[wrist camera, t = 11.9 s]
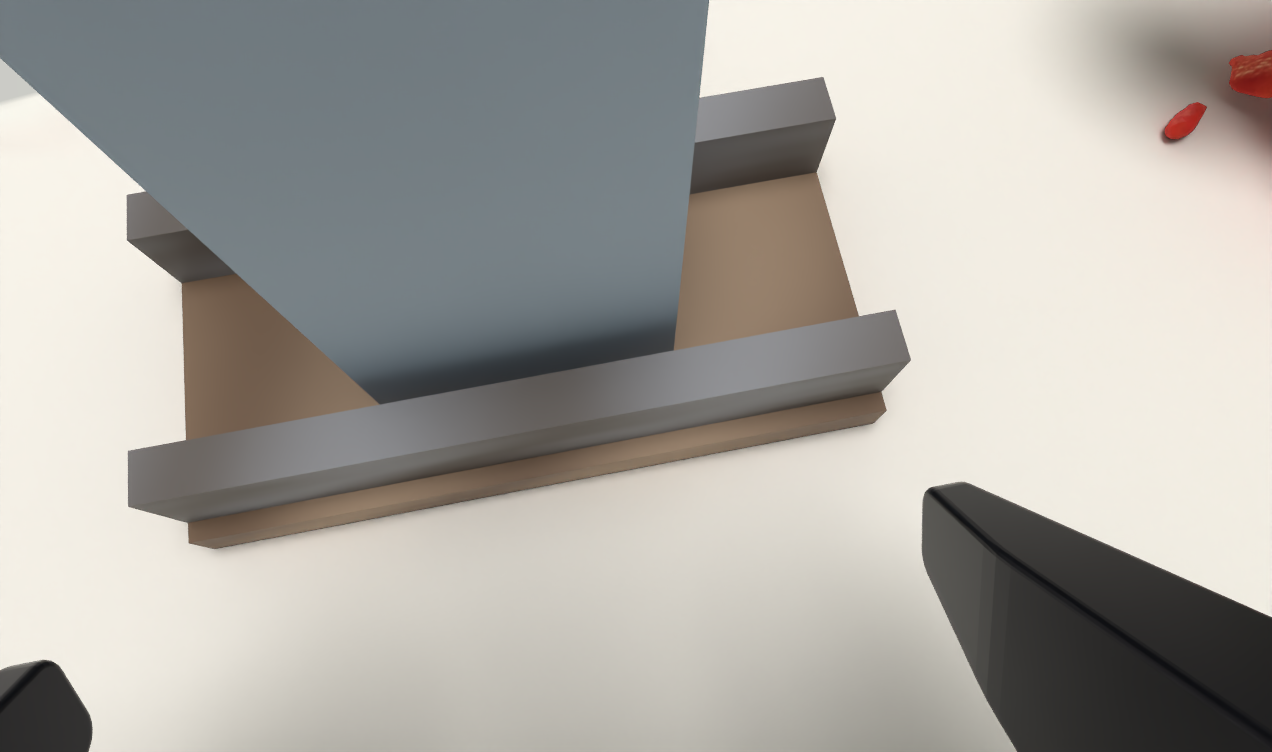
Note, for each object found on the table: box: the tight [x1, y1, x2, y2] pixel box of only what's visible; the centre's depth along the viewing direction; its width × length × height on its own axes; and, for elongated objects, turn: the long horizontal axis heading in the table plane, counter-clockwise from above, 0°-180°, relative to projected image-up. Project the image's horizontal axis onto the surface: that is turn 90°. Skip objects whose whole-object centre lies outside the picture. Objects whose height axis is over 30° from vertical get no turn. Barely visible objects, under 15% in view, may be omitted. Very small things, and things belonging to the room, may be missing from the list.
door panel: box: [0, 0, 709, 405], centre depth 12 cm, size 6×3×12 cm, turn 101°
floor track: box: [127, 77, 911, 549], centre depth 17 cm, size 14×7×3 cm, turn 101°
